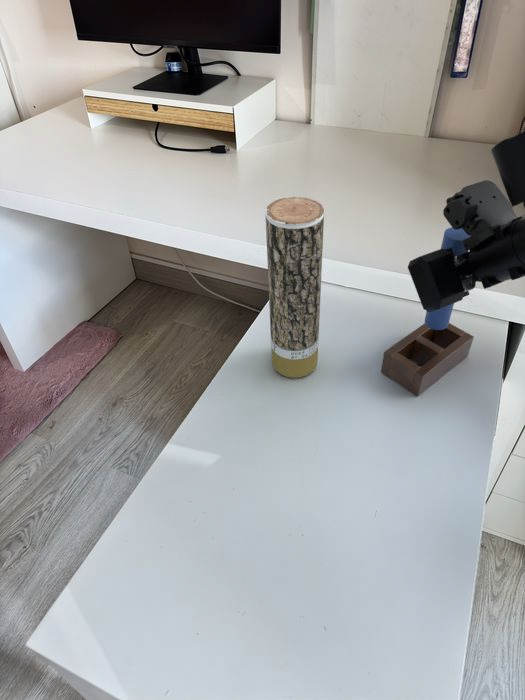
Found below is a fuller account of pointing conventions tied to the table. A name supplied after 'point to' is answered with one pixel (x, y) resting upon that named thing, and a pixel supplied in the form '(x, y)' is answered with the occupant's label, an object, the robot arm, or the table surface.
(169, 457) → the table surface
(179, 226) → the table surface
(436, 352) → the rack
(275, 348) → the paper tube
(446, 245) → the peg
